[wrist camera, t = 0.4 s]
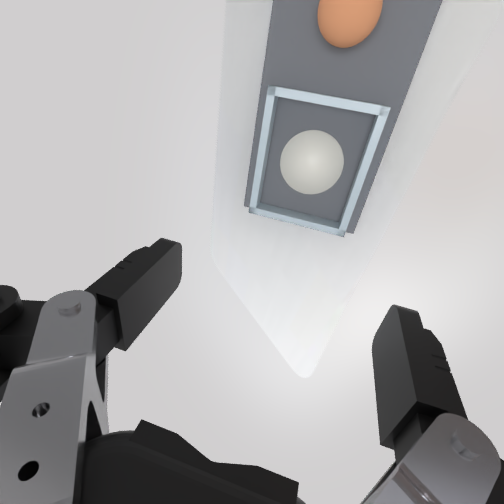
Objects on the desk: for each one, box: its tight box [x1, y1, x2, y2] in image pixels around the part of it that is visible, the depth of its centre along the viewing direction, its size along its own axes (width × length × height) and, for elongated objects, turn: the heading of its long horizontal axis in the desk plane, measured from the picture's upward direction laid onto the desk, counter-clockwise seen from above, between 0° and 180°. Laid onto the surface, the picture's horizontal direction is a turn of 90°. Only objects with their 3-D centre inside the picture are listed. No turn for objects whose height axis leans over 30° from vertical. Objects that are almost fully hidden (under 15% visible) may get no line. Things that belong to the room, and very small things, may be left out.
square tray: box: [249, 85, 391, 237], centre depth 31 cm, size 14×12×2 cm
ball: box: [317, 0, 383, 48], centre depth 23 cm, size 5×5×5 cm
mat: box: [244, 0, 442, 234], centre depth 30 cm, size 24×14×1 cm, turn 171°
